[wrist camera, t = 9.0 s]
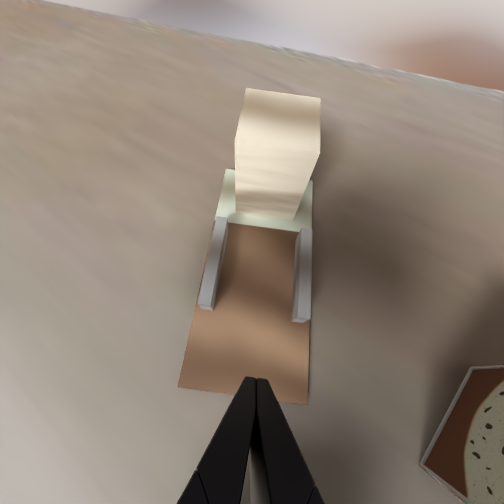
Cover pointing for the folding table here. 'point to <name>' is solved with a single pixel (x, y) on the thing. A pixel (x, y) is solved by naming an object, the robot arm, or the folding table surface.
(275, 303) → the chute
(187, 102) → the folding table surface
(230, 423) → the robot arm
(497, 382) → the food container
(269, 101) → the block
